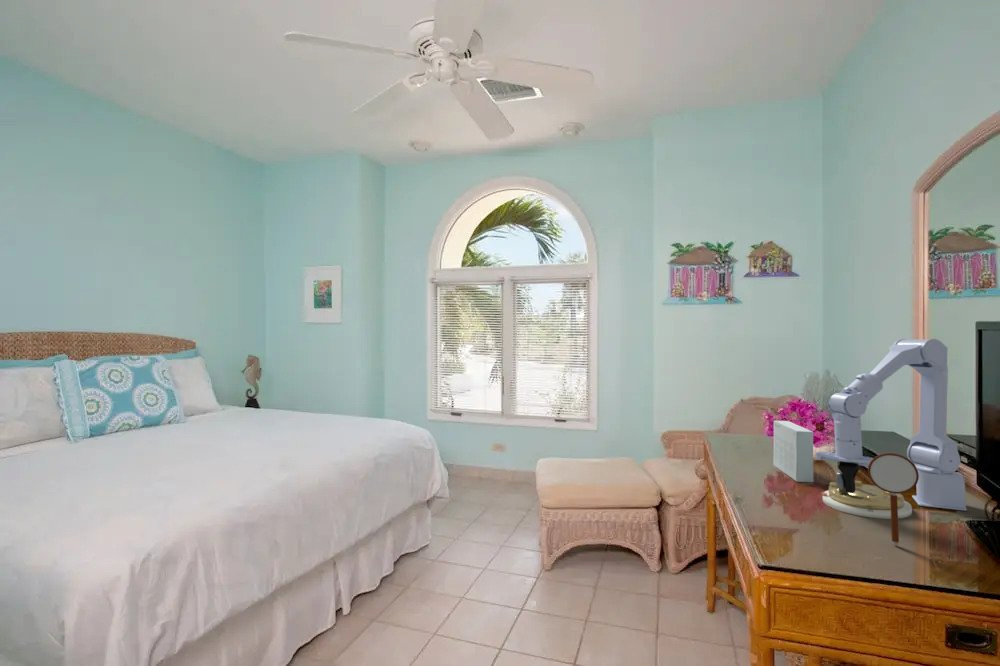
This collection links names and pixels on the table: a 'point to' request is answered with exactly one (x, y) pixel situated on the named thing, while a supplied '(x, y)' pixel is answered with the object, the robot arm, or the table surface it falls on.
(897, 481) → the magnifying glass
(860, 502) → the brass round mechanism
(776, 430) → the skincare box
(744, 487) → the table surface
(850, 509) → the disc
